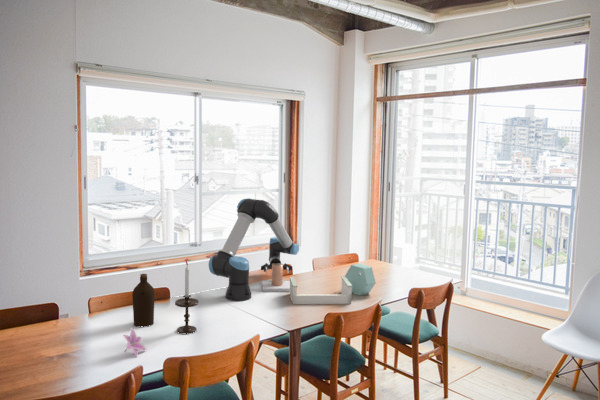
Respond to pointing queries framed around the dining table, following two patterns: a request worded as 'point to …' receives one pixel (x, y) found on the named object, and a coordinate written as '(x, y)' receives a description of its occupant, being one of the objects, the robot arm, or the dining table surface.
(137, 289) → the olive oil
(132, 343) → the lily
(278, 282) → the pot
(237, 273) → the robot arm
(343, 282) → the grey u-shaped bracket
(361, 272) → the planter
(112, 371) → the dining table surface
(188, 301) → the candlestick
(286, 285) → the potting board
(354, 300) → the dining table surface
